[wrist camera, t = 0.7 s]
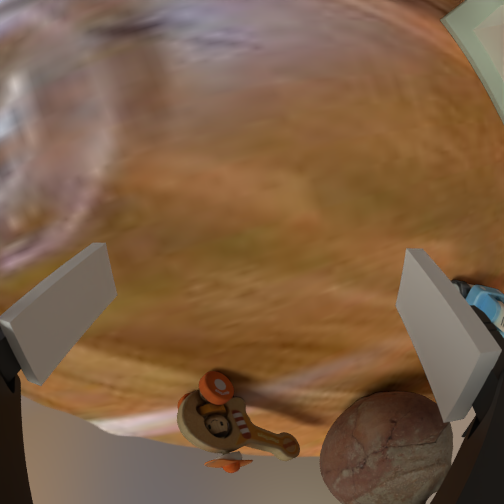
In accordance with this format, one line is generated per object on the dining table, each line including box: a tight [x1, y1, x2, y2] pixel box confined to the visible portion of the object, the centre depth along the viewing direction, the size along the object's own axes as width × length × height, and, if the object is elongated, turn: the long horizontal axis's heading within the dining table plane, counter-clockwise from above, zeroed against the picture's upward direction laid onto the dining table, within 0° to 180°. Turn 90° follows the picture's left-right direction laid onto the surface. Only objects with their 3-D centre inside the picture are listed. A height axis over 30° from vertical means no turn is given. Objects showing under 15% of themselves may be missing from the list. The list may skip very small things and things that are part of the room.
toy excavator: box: [451, 280, 504, 338], centre depth 31 cm, size 9×17×17 cm, turn 167°
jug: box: [320, 391, 453, 504], centre depth 34 cm, size 22×22×30 cm
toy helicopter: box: [177, 371, 300, 473], centre depth 39 cm, size 8×21×14 cm, turn 53°
